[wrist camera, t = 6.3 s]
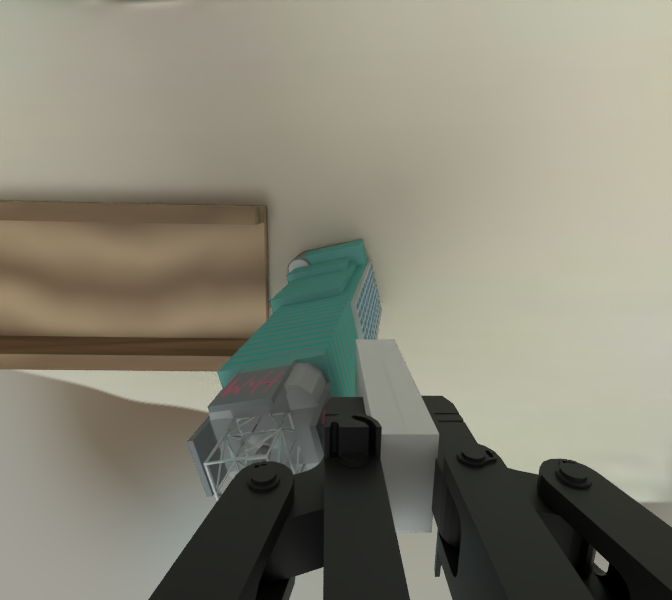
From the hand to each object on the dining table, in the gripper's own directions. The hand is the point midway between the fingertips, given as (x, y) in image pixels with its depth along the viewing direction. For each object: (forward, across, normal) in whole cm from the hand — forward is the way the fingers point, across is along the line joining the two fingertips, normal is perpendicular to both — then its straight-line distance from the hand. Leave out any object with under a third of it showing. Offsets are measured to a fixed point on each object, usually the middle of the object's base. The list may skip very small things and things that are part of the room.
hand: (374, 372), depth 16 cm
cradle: (+19, -21, 0) cm, 28 cm away
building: (+19, -1, 0) cm, 19 cm away
